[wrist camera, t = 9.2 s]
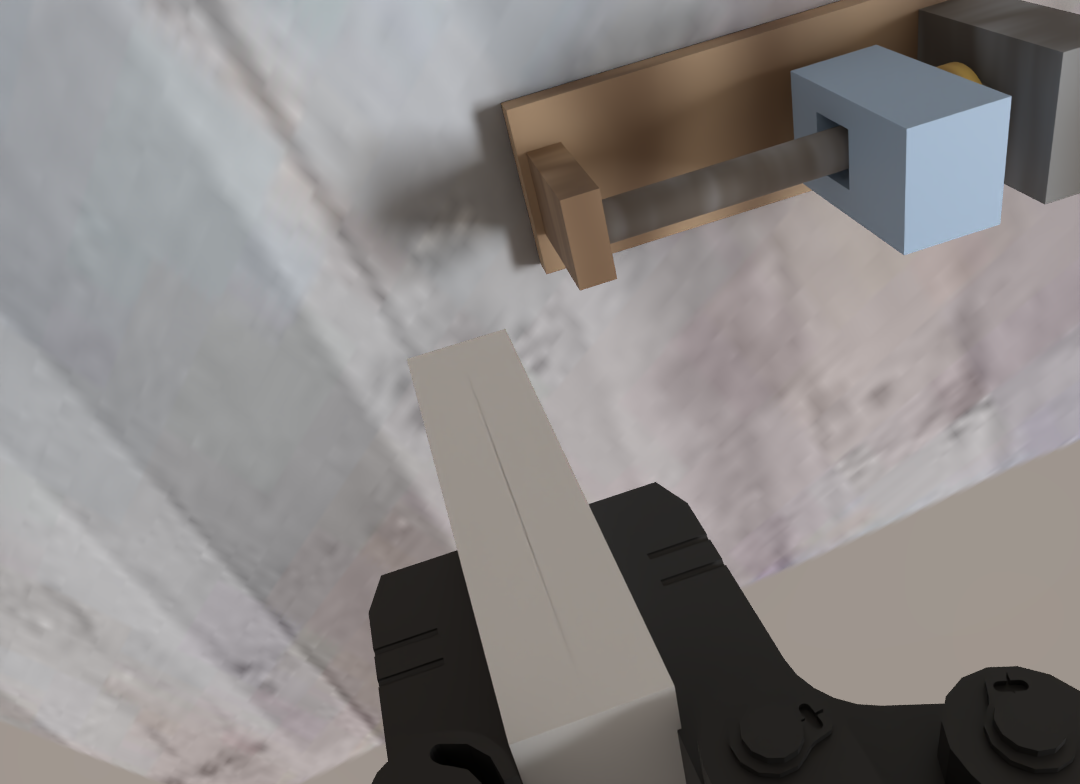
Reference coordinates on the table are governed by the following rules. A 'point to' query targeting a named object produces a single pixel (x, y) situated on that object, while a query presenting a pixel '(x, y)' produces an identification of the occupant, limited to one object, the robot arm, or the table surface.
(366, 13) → the table surface
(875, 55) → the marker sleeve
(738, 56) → the sliding block fixture
